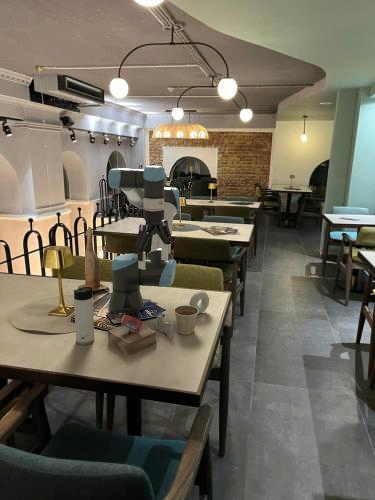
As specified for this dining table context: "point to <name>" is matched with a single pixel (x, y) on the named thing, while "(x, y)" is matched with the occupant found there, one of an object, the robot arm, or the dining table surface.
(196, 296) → the donut
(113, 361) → the dining table surface
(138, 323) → the geometric puzzle
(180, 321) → the flower pot
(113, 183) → the robot arm
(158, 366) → the dining table surface
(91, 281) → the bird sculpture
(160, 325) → the grey tape dispenser
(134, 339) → the walnut block
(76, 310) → the travel mug
